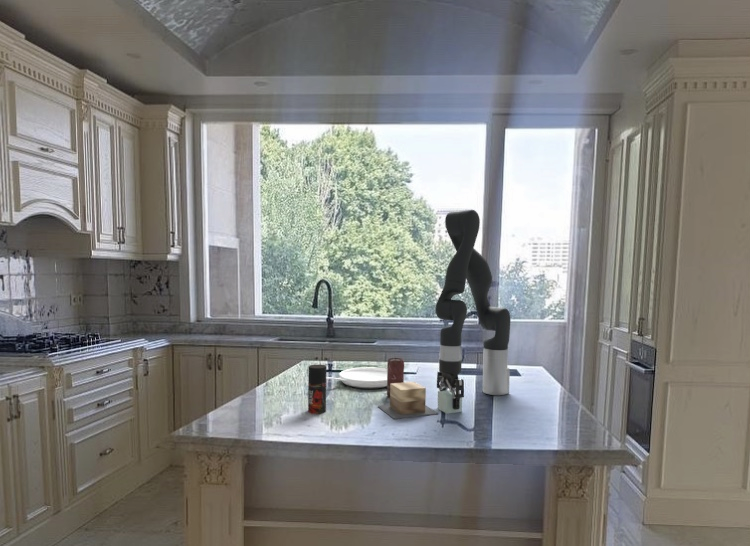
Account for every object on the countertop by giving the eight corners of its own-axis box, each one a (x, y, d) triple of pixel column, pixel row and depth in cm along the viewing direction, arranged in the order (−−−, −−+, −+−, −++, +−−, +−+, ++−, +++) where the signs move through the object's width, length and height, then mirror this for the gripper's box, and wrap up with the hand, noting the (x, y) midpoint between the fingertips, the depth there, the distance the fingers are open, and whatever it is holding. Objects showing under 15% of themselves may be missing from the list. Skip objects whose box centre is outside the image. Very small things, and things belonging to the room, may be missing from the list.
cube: (452, 406, 166) (453, 389, 166) (461, 411, 160) (462, 394, 160) (437, 408, 164) (437, 391, 164) (446, 413, 158) (446, 395, 158)
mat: (419, 402, 170) (419, 401, 170) (438, 414, 157) (438, 413, 157) (377, 406, 165) (377, 405, 165) (393, 419, 152) (393, 418, 152)
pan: (411, 385, 195) (411, 373, 195) (330, 399, 174) (330, 386, 174) (376, 373, 216) (376, 363, 216) (300, 384, 194) (300, 372, 194)
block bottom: (413, 404, 167) (413, 393, 167) (425, 411, 158) (425, 399, 158) (389, 406, 164) (390, 395, 163) (400, 414, 155) (400, 402, 155)
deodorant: (328, 409, 161) (329, 365, 161) (321, 414, 155) (321, 368, 155) (313, 407, 163) (313, 363, 163) (304, 412, 157) (305, 367, 157)
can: (402, 399, 174) (403, 361, 174) (385, 398, 176) (386, 360, 175) (405, 394, 180) (405, 358, 180) (388, 393, 181) (389, 357, 181)
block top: (413, 393, 167) (413, 381, 167) (425, 399, 158) (425, 387, 158) (390, 395, 163) (390, 383, 163) (400, 402, 155) (400, 390, 155)
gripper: (471, 361, 157) (470, 410, 157) (449, 353, 170) (448, 399, 170) (451, 362, 154) (450, 412, 154) (430, 355, 167) (430, 400, 167)
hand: (449, 405), depth 162 cm, fingers open, 8 cm apart
